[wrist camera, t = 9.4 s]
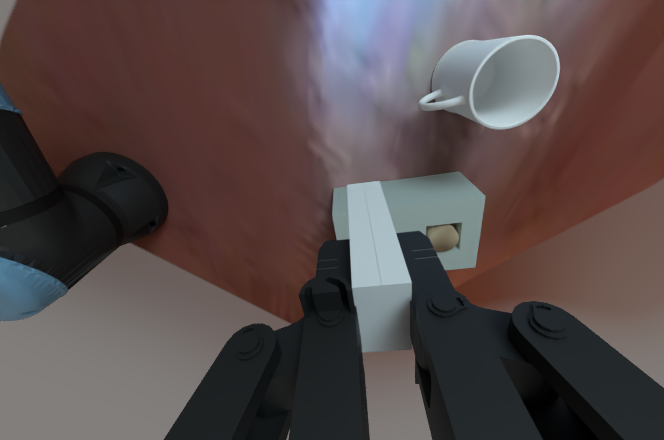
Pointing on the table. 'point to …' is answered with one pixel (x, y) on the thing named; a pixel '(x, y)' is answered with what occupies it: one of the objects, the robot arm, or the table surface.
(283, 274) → the table surface
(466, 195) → the socket block
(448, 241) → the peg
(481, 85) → the mug
